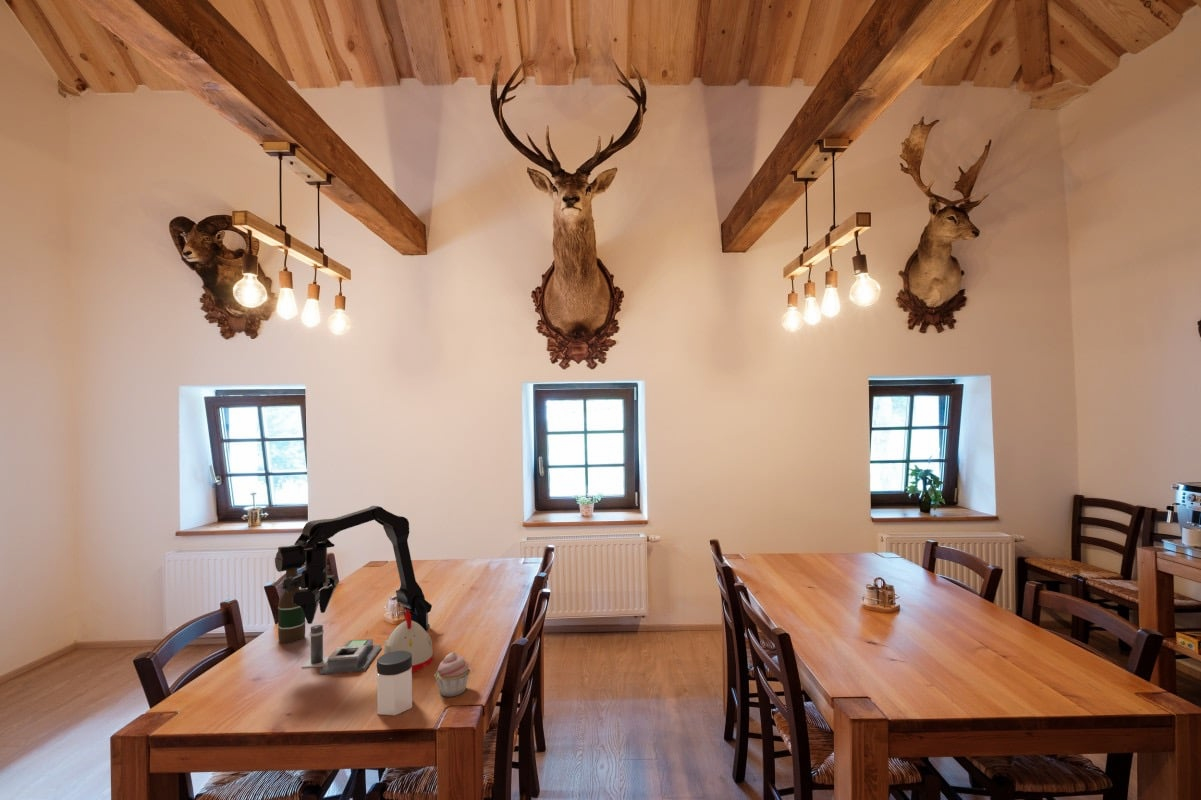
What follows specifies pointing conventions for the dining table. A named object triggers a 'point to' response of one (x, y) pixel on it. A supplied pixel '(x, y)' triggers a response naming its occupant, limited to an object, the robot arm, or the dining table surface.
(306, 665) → the pad
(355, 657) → the grey flat framed piece
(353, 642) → the on button
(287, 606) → the beer bottle
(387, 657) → the jar
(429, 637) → the kitchen timer
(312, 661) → the gray capped cylinder
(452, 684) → the cupcake
